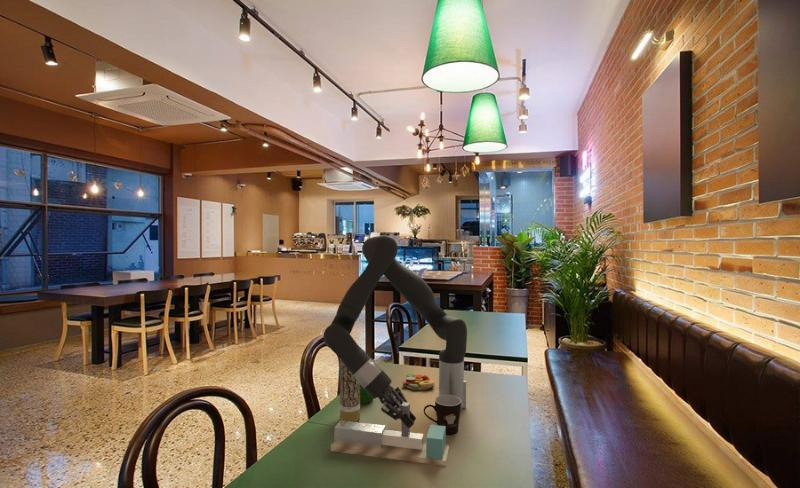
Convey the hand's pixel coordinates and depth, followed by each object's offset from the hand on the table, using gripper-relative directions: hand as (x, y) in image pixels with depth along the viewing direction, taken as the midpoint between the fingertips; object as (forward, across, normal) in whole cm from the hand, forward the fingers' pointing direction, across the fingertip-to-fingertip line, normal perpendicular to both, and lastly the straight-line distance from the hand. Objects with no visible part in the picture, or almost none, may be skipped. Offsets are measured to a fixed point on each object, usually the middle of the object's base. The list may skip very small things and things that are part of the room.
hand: (412, 423), depth 114 cm
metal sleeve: (-6, 0, +17) cm, 18 cm away
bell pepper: (-12, +32, +24) cm, 42 cm away
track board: (+1, 0, +11) cm, 11 cm away
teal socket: (+10, 0, 0) cm, 10 cm away
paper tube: (-11, +16, +24) cm, 31 cm away
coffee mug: (+11, +16, +2) cm, 20 cm away
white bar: (0, 0, +9) cm, 9 cm away
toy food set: (+1, +52, +13) cm, 54 cm away
